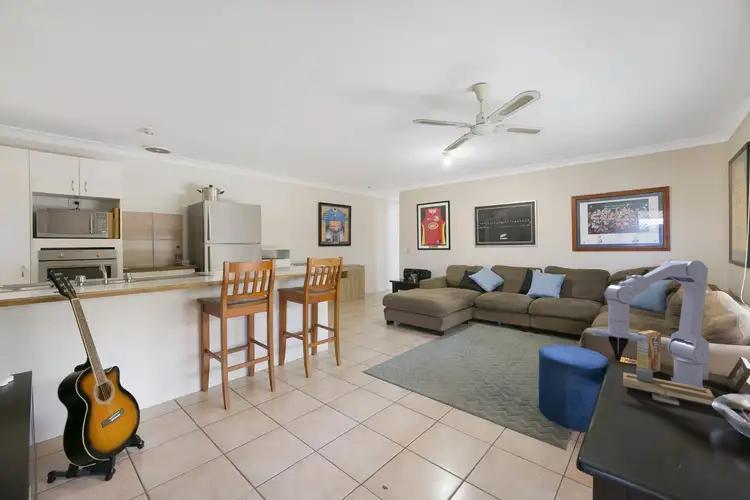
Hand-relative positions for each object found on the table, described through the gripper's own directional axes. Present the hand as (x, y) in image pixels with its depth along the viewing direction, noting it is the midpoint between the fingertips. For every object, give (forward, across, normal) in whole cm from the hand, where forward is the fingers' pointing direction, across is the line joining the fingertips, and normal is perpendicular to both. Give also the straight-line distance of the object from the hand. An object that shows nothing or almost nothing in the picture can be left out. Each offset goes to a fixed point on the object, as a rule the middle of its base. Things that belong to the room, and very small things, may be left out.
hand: (618, 359), depth 110 cm
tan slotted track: (+9, +12, 0) cm, 15 cm away
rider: (+6, +7, 0) cm, 9 cm away
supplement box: (+10, +22, +30) cm, 38 cm away
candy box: (+10, +9, +27) cm, 30 cm away
